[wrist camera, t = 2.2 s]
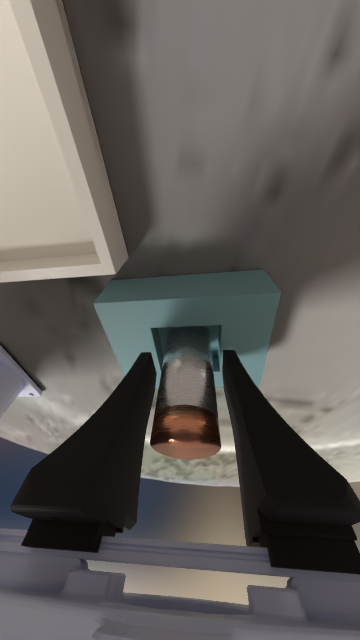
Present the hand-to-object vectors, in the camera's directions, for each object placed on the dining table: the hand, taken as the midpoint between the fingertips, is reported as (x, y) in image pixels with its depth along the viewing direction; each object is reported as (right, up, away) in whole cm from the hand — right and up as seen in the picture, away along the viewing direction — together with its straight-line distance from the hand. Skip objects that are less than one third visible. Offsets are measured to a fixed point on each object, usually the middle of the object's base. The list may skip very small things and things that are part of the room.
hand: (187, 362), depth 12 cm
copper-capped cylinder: (0, +1, +2) cm, 2 cm away
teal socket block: (0, +2, +3) cm, 4 cm away
